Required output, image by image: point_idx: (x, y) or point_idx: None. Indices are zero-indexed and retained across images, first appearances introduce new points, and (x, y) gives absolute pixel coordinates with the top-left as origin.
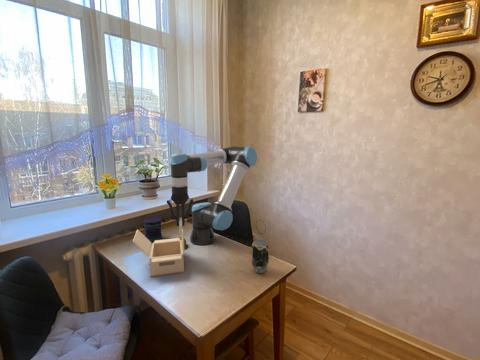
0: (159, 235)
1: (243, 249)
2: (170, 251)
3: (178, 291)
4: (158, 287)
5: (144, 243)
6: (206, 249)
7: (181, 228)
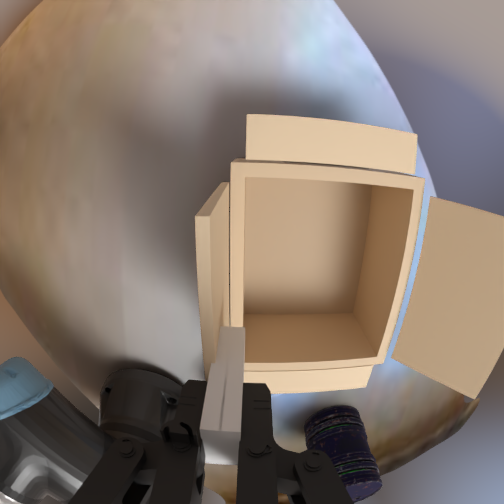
0: (319, 441)
1: (13, 288)
2: (290, 329)
3: (270, 24)
4: (348, 75)
5: (454, 301)
6: (131, 338)
7: (220, 356)
